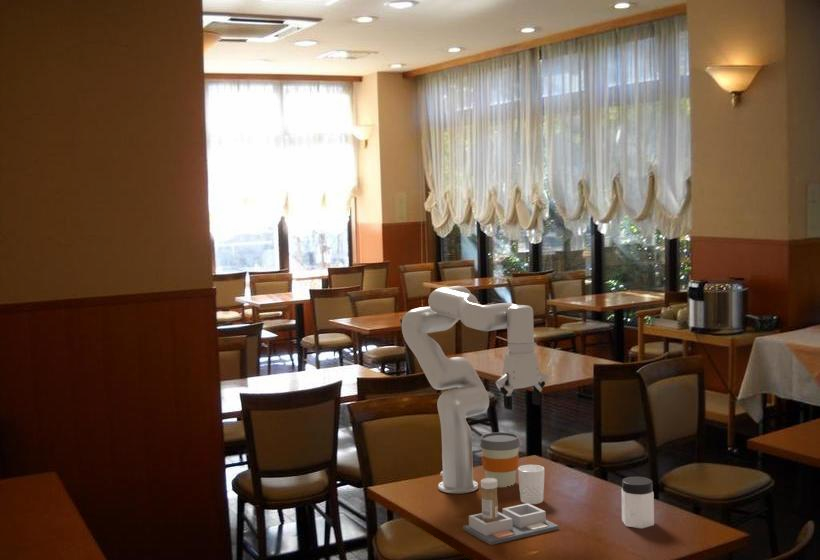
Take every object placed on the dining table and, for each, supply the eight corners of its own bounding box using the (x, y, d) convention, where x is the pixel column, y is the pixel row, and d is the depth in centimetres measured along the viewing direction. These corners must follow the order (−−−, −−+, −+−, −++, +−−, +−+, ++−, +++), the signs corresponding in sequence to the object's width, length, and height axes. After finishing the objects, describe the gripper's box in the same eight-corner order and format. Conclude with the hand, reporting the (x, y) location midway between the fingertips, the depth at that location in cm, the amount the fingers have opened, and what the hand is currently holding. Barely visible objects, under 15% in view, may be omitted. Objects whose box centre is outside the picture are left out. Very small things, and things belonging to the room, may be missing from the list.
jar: (617, 525, 257) (616, 482, 256) (626, 516, 264) (625, 474, 263) (650, 530, 253) (649, 486, 252) (657, 520, 260) (657, 478, 259)
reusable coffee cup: (527, 480, 302) (525, 434, 300) (509, 491, 291) (508, 443, 290) (492, 475, 308) (491, 430, 307) (474, 485, 298) (472, 439, 296)
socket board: (463, 529, 258) (462, 515, 258) (529, 514, 268) (528, 501, 268) (490, 545, 246) (490, 530, 246) (558, 529, 256) (558, 514, 256)
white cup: (544, 496, 285) (543, 464, 284) (545, 505, 277) (545, 471, 276) (518, 496, 285) (517, 464, 284) (518, 505, 277) (518, 472, 277)
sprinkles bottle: (502, 528, 255) (500, 480, 254) (489, 532, 253) (487, 483, 252) (491, 523, 259) (490, 476, 258) (478, 527, 257) (477, 479, 255)
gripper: (538, 343, 277) (539, 400, 279) (488, 349, 269) (490, 408, 271) (553, 346, 271) (554, 405, 272) (503, 353, 263) (504, 413, 264)
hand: (522, 406), depth 271 cm, fingers open, 9 cm apart
